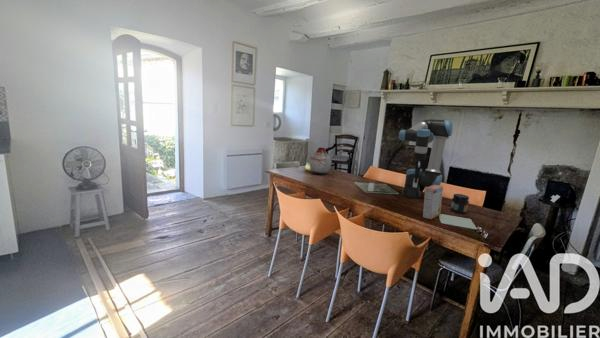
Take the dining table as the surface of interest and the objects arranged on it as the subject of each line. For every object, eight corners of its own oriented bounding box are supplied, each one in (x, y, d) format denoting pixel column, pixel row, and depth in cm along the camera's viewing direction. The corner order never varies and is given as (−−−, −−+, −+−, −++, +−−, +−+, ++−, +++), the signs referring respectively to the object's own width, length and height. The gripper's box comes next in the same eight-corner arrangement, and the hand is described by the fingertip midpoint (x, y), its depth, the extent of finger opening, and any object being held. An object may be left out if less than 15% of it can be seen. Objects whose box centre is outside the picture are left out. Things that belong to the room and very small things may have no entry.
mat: (437, 213, 184) (437, 213, 184) (470, 219, 177) (470, 219, 177) (441, 223, 168) (441, 222, 168) (477, 229, 161) (477, 229, 161)
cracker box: (431, 213, 184) (434, 184, 181) (440, 215, 180) (443, 185, 176) (421, 217, 176) (424, 186, 172) (430, 220, 171) (434, 188, 167)
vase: (319, 170, 297) (321, 146, 291) (335, 175, 280) (337, 149, 274) (304, 172, 282) (305, 146, 276) (319, 177, 265) (321, 150, 259)
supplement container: (469, 212, 190) (472, 197, 187) (461, 214, 185) (464, 198, 182) (455, 207, 199) (458, 192, 196) (446, 209, 194) (449, 194, 191)
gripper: (413, 151, 180) (408, 184, 185) (414, 153, 168) (408, 188, 173) (425, 152, 178) (420, 185, 182) (427, 154, 166) (421, 190, 170)
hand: (414, 187), depth 178 cm, fingers closed
